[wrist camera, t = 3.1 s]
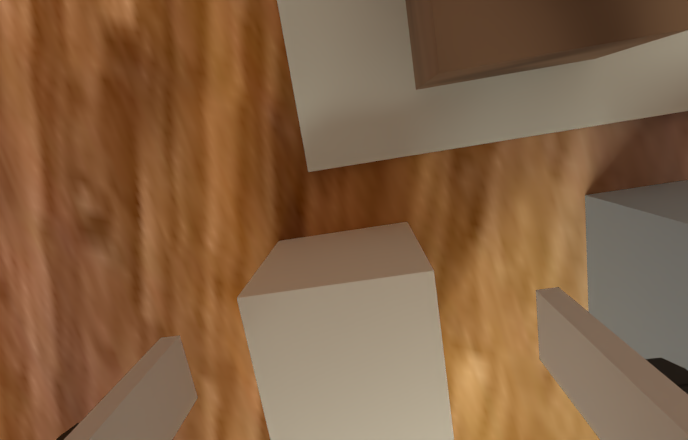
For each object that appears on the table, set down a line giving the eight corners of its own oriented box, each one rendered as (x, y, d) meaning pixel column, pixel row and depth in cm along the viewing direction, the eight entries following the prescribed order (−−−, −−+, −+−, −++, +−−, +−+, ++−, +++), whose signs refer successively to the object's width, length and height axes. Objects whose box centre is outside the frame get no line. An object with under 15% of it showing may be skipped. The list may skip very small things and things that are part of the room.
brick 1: (302, 354, 21) (275, 461, 14) (278, 240, 20) (236, 298, 13) (422, 339, 21) (454, 442, 14) (407, 221, 19) (433, 270, 12)
